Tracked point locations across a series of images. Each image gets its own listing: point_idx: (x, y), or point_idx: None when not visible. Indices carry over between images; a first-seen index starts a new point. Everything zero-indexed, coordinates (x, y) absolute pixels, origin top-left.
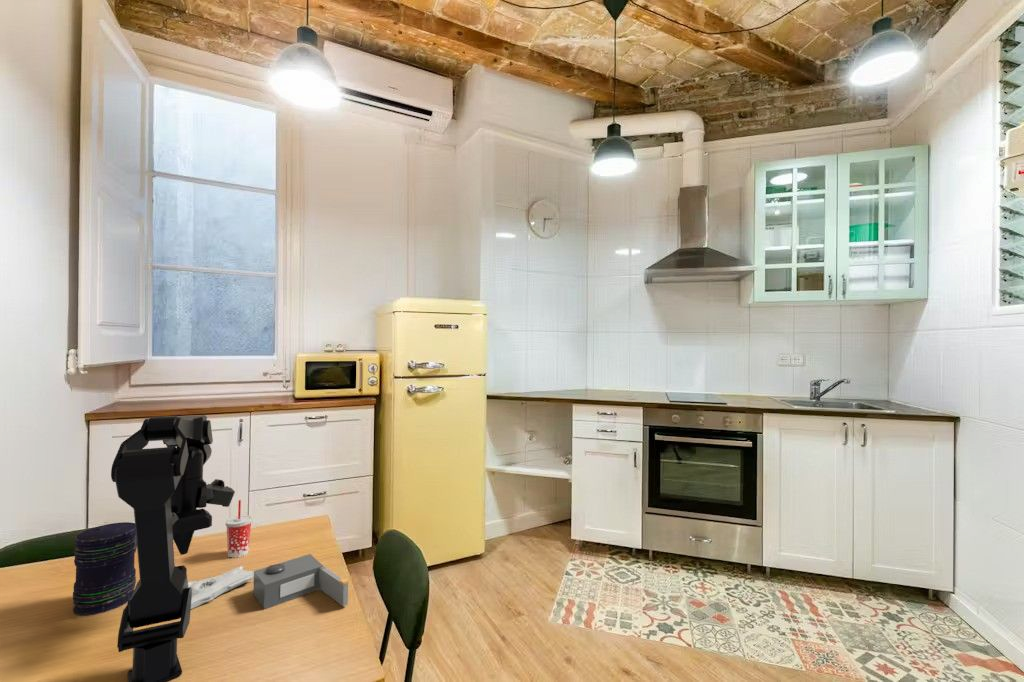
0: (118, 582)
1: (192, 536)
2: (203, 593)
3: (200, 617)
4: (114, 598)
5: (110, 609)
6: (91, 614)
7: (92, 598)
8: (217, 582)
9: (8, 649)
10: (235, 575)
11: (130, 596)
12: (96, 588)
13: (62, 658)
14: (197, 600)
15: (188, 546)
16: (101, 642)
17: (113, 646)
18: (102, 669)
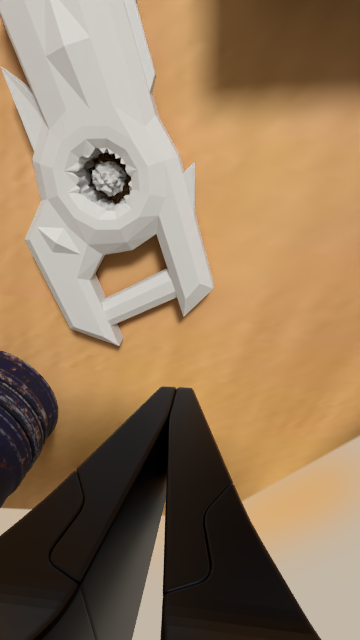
0: (10, 436)
1: (237, 498)
2: (172, 201)
3: (280, 222)
4: (34, 407)
5: (53, 397)
6: (55, 424)
7: (37, 456)
8: (122, 135)
9: None
10: (98, 33)
11: (12, 364)
12: (22, 473)
13: None
14: (194, 224)
15: (205, 425)
16: (214, 422)
17: (256, 408)
18: (346, 431)
